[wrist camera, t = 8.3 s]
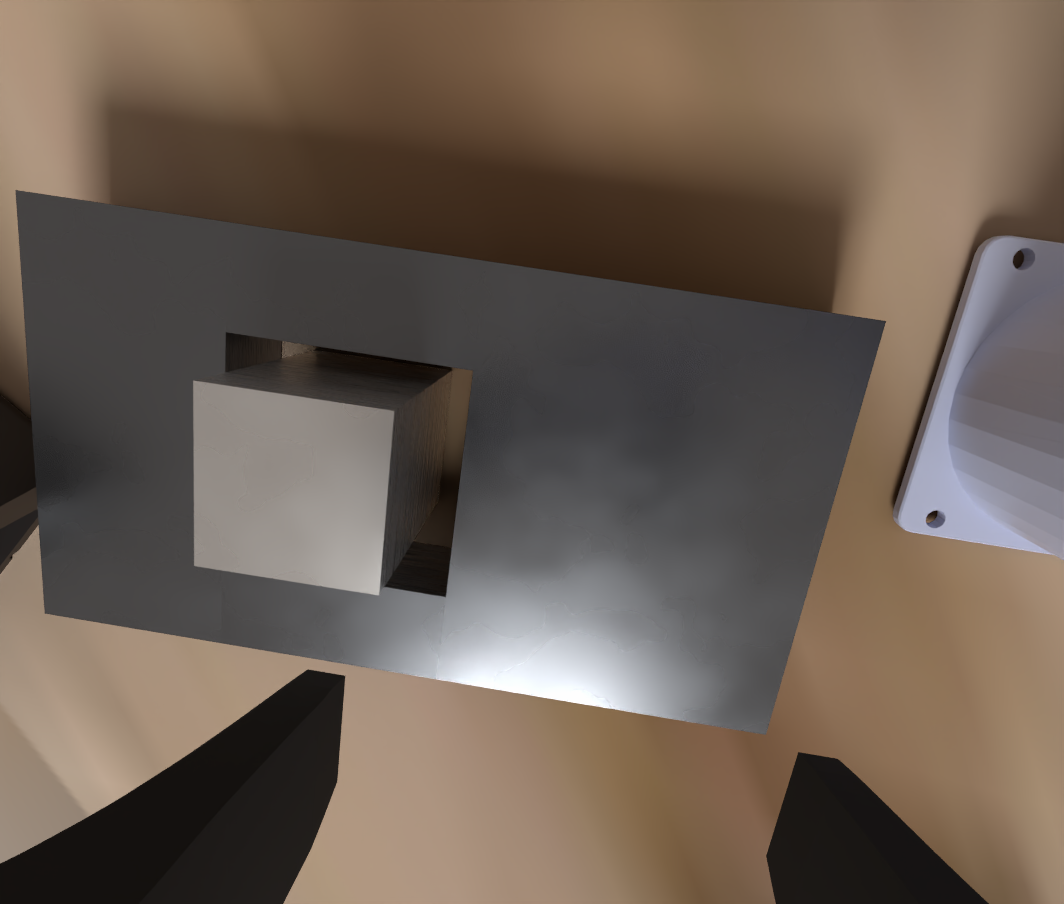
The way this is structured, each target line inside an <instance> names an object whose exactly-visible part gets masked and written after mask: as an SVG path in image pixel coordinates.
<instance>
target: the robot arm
mask: <svg viewBox="0 0 1064 904" xmlns="http://www.w3.org/2000/svg"><path fill="white" fill-rule="evenodd" d="M1019 250H1020V251H1022V253H1023V254H1024V262H1023V263H1022V265H1021V267H1019V268H1018V269H1016V268H1015V267H1014V265H1013V257H1014V255H1015V254H1016V252H1017V251H1019ZM936 510H937V511H938V512H937V517H936V518H935V520H934V521H932V522H930V523H926V517H927V515H928V514H929V513H930V512H932V511H936ZM893 518H894V520H895V522H896V523H897V524H898V525H899V526H900V527H902V528H903V529H904V530H906V531H909V532H913V533H919V534H925V535H932V536H938V537H944V538H951V539H957V540H963V541H969V542H976V543H982V544H988V545H995V546H1001V547H1007V548H1014V549H1020V550H1026V551H1032V552H1039V553H1045V554H1051V555H1055V556H1057V557H1059V558H1060V559H1062V560H1064V243H1058V242H1051V241H1044V240H1037V239H1031V238H1024V237H1017V236H1010V235H1008V236H996V237H992V238H989V239H987V240H985V241H984V242H983V243H982V244H981V245H980V246H979V247H978V249H977V251H976V253H975V255H974V258H973V262H972V265H971V268H970V271H969V274H968V277H967V280H966V283H965V287H964V290H963V293H962V296H961V299H960V302H959V305H958V309H957V312H956V315H955V318H954V321H953V324H952V327H951V330H950V334H949V337H948V340H947V343H946V346H945V349H944V352H943V356H942V359H941V362H940V365H939V368H938V371H937V374H936V378H935V381H934V384H933V387H932V390H931V393H930V396H929V399H928V403H927V406H926V409H925V412H924V415H923V418H922V421H921V425H920V428H919V431H918V434H917V437H916V440H915V443H914V447H913V450H912V453H911V456H910V459H909V462H908V465H907V468H906V472H905V475H904V478H903V481H902V484H901V487H900V490H899V494H898V497H897V500H896V503H895V506H894V509H893ZM344 685H345V676H343V675H337V674H331V673H325V672H319V671H314V670H306V671H305V672H304V673H302V674H301V675H299V676H298V677H296V678H295V679H293V680H292V681H291V682H289V683H288V684H286V685H285V686H284V687H282V688H281V689H280V690H278V691H277V692H276V693H274V694H273V695H271V696H270V697H269V698H267V699H266V700H265V701H263V702H262V703H261V704H259V705H258V706H256V707H255V708H254V709H252V710H251V711H250V712H248V713H247V714H245V715H244V716H243V717H241V718H240V719H239V720H237V721H236V722H234V723H233V724H232V725H230V726H229V727H227V728H226V729H224V730H223V731H221V732H220V733H219V734H217V735H216V736H214V737H213V738H211V739H210V740H209V741H207V742H206V743H204V744H203V745H201V746H200V747H199V748H197V749H196V750H194V751H193V752H191V753H190V754H188V755H187V756H185V757H184V758H182V759H181V760H179V761H178V762H176V763H175V764H173V765H172V766H170V767H168V768H167V769H165V770H164V771H162V772H161V773H159V774H158V775H156V776H154V777H153V778H151V779H150V780H148V781H147V782H145V783H143V784H142V785H140V786H139V787H137V788H136V789H134V790H133V791H131V792H129V793H128V794H126V795H125V796H123V797H121V798H120V799H118V800H116V801H115V802H113V803H111V804H110V805H108V806H106V807H105V808H103V809H101V810H99V811H98V812H96V813H94V814H92V815H91V816H89V817H87V818H85V819H84V820H82V821H80V822H78V823H76V824H75V825H73V826H71V827H69V828H67V829H65V830H64V831H62V832H60V833H58V834H56V835H55V836H53V837H51V838H49V839H47V840H45V841H43V842H42V843H40V844H38V845H36V846H34V847H32V848H30V849H29V850H27V851H25V852H23V853H21V854H20V855H17V856H15V857H13V858H11V859H9V860H7V861H5V862H3V863H1V864H0V904H283V903H284V901H285V899H286V897H287V895H288V893H289V891H290V889H291V887H292V885H293V883H294V881H295V879H296V877H297V875H298V873H299V871H300V870H301V868H302V866H303V864H304V862H305V860H306V858H307V856H308V854H309V852H310V850H311V848H312V845H313V843H314V840H315V838H316V835H317V833H318V830H319V828H320V825H321V822H322V820H323V817H324V815H325V812H326V810H327V807H328V804H329V802H330V799H331V796H332V794H333V791H334V789H335V786H336V783H337V777H338V764H339V750H340V737H341V724H342V711H343V698H344ZM766 857H767V862H768V867H769V872H770V877H771V882H772V887H773V892H774V897H775V901H776V904H989V903H987V902H986V901H985V900H984V899H983V898H982V897H981V896H980V895H979V894H978V893H977V892H976V891H975V890H974V889H973V888H971V887H970V886H969V885H968V884H967V883H966V882H965V881H964V880H963V879H962V878H961V877H960V876H959V875H958V874H957V873H956V872H955V871H954V870H953V869H952V868H951V867H949V866H948V865H947V864H946V863H945V862H944V861H943V860H942V859H941V858H940V857H939V856H938V855H937V854H936V853H935V852H934V851H933V850H932V849H931V848H930V847H929V846H928V845H927V844H926V843H925V842H924V841H923V840H922V839H921V838H920V837H919V836H918V835H917V834H916V833H915V832H914V831H913V830H912V829H910V828H909V827H908V826H907V825H906V824H905V823H904V822H903V821H902V820H901V819H900V818H899V817H898V816H897V815H896V814H895V813H894V812H893V811H892V810H891V809H890V808H889V807H888V806H887V805H886V804H885V803H884V802H883V801H882V800H881V799H880V798H879V797H878V796H877V795H876V794H875V793H874V792H873V791H872V790H871V789H870V788H869V787H868V786H867V785H866V784H865V783H863V782H862V781H861V780H860V779H859V778H858V777H857V776H856V775H855V774H854V773H853V772H852V771H851V770H850V769H849V768H847V767H846V766H845V765H844V764H843V763H842V762H841V761H840V760H838V759H835V758H829V757H823V756H817V755H811V754H806V753H800V752H798V755H797V759H796V762H795V765H794V768H793V771H792V775H791V778H790V781H789V784H788V788H787V791H786V794H785V797H784V800H783V804H782V807H781V810H780V813H779V817H778V820H777V823H776V826H775V830H774V833H773V836H772V839H771V842H770V846H769V849H768V852H767V855H766Z"/></svg>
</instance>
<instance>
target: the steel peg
mask: <svg viewBox="0 0 1064 904" xmlns="http://www.w3.org/2000/svg"><path fill="white" fill-rule="evenodd" d="M451 379H452V370H446V369H440V368H433V367H426V366H420V365H413V364H406V363H400V362H393V361H386V360H379V359H373V358H366V357H359V356H353V355H346V354H339V353H333V352H326V351H319V350H313V351H309V352H305V353H301V354H297V355H293V356H289V357H285V358H281V359H277V360H273V361H269V362H265V363H261V364H257V365H253V366H249V367H245V368H241V369H237V370H233V371H229V372H225V373H221V374H217V375H213V376H209V377H205V378H201V379H197V380H193V430H194V566H197V567H204V568H210V569H216V570H222V571H229V572H235V573H241V574H247V575H254V576H260V577H266V578H273V579H279V580H285V581H291V582H298V583H304V584H310V585H316V586H323V587H329V588H335V589H342V590H348V591H354V592H360V593H367V594H373V595H380V593H381V592H382V590H383V589H384V587H385V585H386V584H387V582H388V581H389V579H390V577H391V576H392V574H393V573H394V571H395V569H396V568H397V566H398V565H399V563H400V562H401V560H402V558H403V557H404V555H405V554H406V552H407V550H408V549H409V547H410V546H411V544H412V542H413V541H414V539H415V538H416V536H417V535H418V533H419V531H420V530H421V528H422V527H423V525H424V523H425V522H426V520H427V519H428V517H429V515H430V514H431V512H432V511H433V509H434V508H435V506H436V504H437V503H438V501H439V493H440V483H441V474H442V464H443V455H444V445H445V436H446V426H447V417H448V408H449V398H450V389H451Z"/></svg>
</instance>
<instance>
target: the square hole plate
mask: <svg viewBox="0 0 1064 904" xmlns="http://www.w3.org/2000/svg"><path fill="white" fill-rule="evenodd" d="M16 203H17V217H18V232H19V246H20V261H21V275H22V290H23V304H24V319H25V333H26V347H27V362H28V376H29V391H30V405H31V420H32V434H33V449H34V463H35V478H36V492H37V507H38V521H39V535H40V550H41V564H42V579H43V593H44V608H45V614H51V615H57V616H63V617H69V618H75V619H81V620H87V621H93V622H99V623H105V624H111V625H117V626H123V627H129V628H135V629H141V630H147V631H152V632H158V633H164V634H170V635H176V636H182V637H188V638H194V639H200V640H206V641H212V642H218V643H224V644H230V645H236V646H242V647H248V648H254V649H259V650H265V651H271V652H277V653H283V654H289V655H295V656H301V657H307V658H313V659H319V660H325V661H331V662H337V663H343V664H349V665H355V666H361V667H366V668H372V669H378V670H384V671H390V672H396V673H402V674H408V675H414V676H420V677H426V678H432V679H438V680H444V681H450V682H456V683H462V684H468V685H473V686H479V687H485V688H491V689H497V690H503V691H509V692H515V693H521V694H527V695H533V696H539V697H545V698H551V699H557V700H563V701H569V702H575V703H581V704H586V705H592V706H598V707H604V708H610V709H616V710H622V711H628V712H634V713H640V714H646V715H652V716H658V717H664V718H670V719H676V720H682V721H688V722H693V723H699V724H705V725H711V726H717V727H723V728H729V729H735V730H741V731H747V732H753V733H759V734H765V735H766V732H767V729H768V725H769V722H770V718H771V715H772V711H773V708H774V705H775V701H776V698H777V694H778V691H779V687H780V684H781V680H782V677H783V674H784V670H785V667H786V663H787V660H788V656H789V653H790V649H791V646H792V643H793V639H794V636H795V632H796V629H797V625H798V622H799V619H800V615H801V612H802V608H803V605H804V601H805V598H806V594H807V591H808V588H809V584H810V581H811V577H812V574H813V570H814V567H815V563H816V560H817V557H818V553H819V550H820V546H821V543H822V539H823V536H824V533H825V529H826V526H827V522H828V519H829V515H830V512H831V508H832V505H833V502H834V498H835V495H836V491H837V488H838V484H839V481H840V477H841V474H842V471H843V467H844V464H845V460H846V457H847V453H848V450H849V447H850V443H851V440H852V436H853V433H854V429H855V426H856V422H857V419H858V416H859V412H860V409H861V405H862V402H863V398H864V395H865V391H866V388H867V385H868V381H869V378H870V374H871V371H872V367H873V364H874V361H875V357H876V354H877V350H878V347H879V343H880V340H881V336H882V333H883V330H884V326H885V323H886V321H881V320H875V319H868V318H861V317H855V316H848V315H841V314H835V313H828V312H822V311H815V310H808V309H802V308H795V307H788V306H782V305H775V304H768V303H762V302H755V301H749V300H742V299H735V298H729V297H722V296H715V295H709V294H702V293H695V292H689V291H682V290H675V289H669V288H662V287H656V286H649V285H642V284H636V283H629V282H622V281H616V280H609V279H602V278H596V277H589V276H583V275H576V274H569V273H563V272H556V271H549V270H543V269H536V268H529V267H523V266H516V265H509V264H503V263H496V262H490V261H483V260H476V259H470V258H463V257H456V256H450V255H443V254H436V253H430V252H423V251H416V250H410V249H403V248H397V247H390V246H383V245H377V244H370V243H363V242H357V241H350V240H343V239H337V238H330V237H324V236H317V235H310V234H304V233H297V232H290V231H284V230H277V229H270V228H264V227H257V226H250V225H244V224H237V223H231V222H224V221H217V220H211V219H204V218H197V217H191V216H184V215H177V214H171V213H164V212H158V211H151V210H144V209H138V208H131V207H124V206H118V205H111V204H104V203H98V202H91V201H84V200H78V199H71V198H65V197H58V196H51V195H45V194H38V193H31V192H25V191H18V190H16ZM282 341H286V342H293V343H299V344H306V345H312V346H319V347H325V348H332V349H338V350H344V351H351V352H357V353H364V354H370V355H377V356H383V357H390V358H396V359H402V360H409V361H415V362H422V363H428V364H435V365H441V366H448V367H454V368H460V369H467V370H473V377H472V385H471V394H470V402H469V410H468V419H467V427H466V435H465V443H464V452H463V460H462V468H461V477H460V485H459V493H458V501H457V510H456V518H455V526H454V534H453V543H452V548H448V547H441V546H435V545H429V544H423V543H417V542H412V544H411V546H410V547H409V549H408V550H407V552H406V554H405V555H404V557H403V558H402V560H401V562H400V563H399V565H398V566H397V568H396V569H395V571H394V573H393V574H392V576H391V577H390V579H389V581H388V582H387V584H386V585H385V587H384V589H383V590H382V592H381V593H380V595H373V594H367V593H360V592H354V591H348V590H342V589H335V588H329V587H323V586H316V585H310V584H304V583H298V582H291V581H285V580H279V579H273V578H266V577H260V576H254V575H247V574H241V573H235V572H229V571H222V570H216V569H210V568H204V567H197V566H194V430H193V380H197V379H201V378H205V377H209V376H213V375H217V374H221V373H225V372H229V371H233V370H237V369H241V368H245V367H249V366H253V365H257V364H261V363H265V362H269V361H273V360H277V359H281V348H282Z"/></svg>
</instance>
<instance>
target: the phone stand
mask: <svg viewBox="0 0 1064 904" xmlns="http://www.w3.org/2000/svg"><path fill="white" fill-rule="evenodd" d="M38 525H39V521H38V507H37V492H36V478H35V463H34V449H33V434H32V421H31V420H30V419H29V418H28V417H26V416H25V415H24V414H23V413H22V412H20V411H19V410H18V409H17V408H16V407H14V406H13V405H12V404H11V403H10V402H8V401H7V400H6V399H5V398H4V397H2V396H1V395H0V574H1V572H2V571H3V570H4V569H5V567H6V566H7V565H8V563H9V562H10V561H11V559H12V557H11V556H12V555H13V554H14V553H15V552H17V551H18V550H19V549H20V548H21V547H22V545H23V544H24V543H25V541H26V540H27V539H28V538H29V536H30V535H31V534H32V532H33V531H34V530H35V529H36V527H37V526H38Z"/></svg>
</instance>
